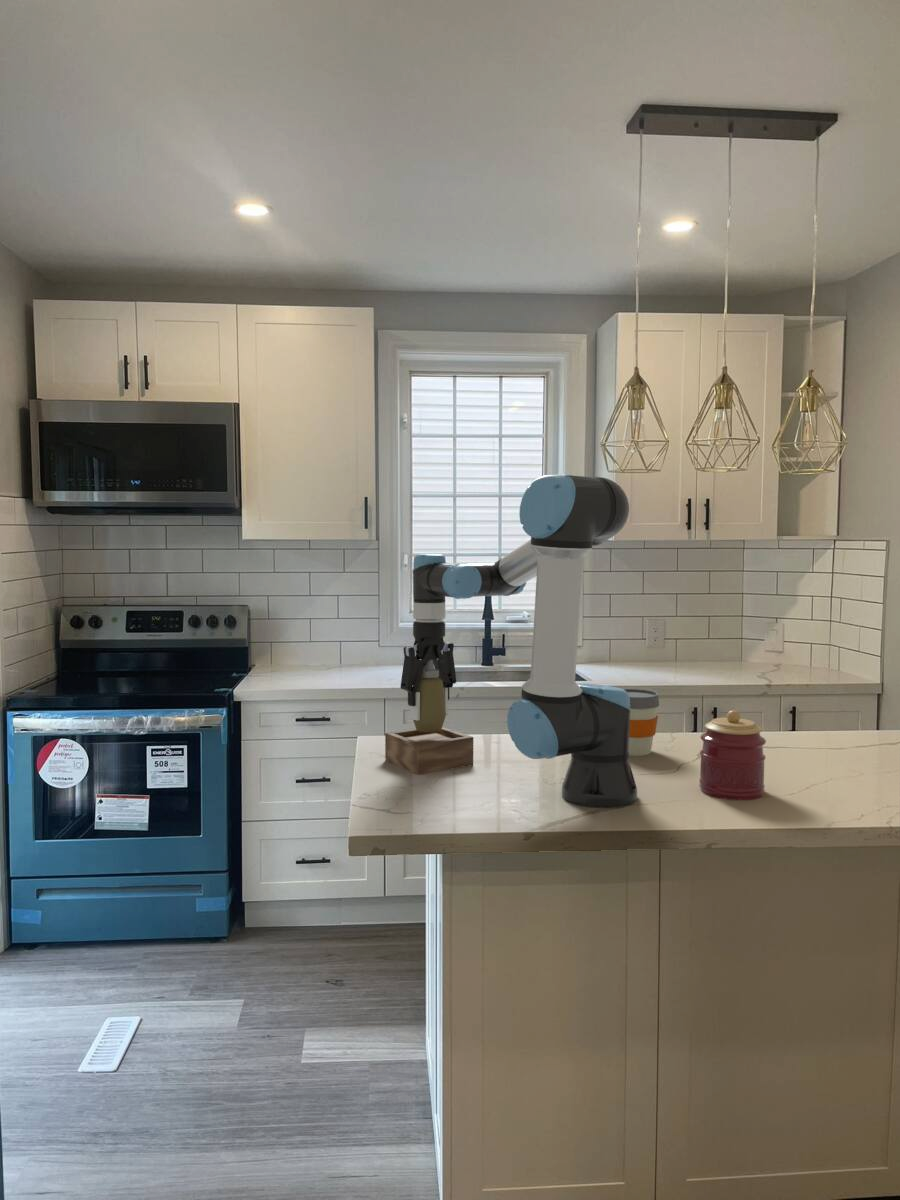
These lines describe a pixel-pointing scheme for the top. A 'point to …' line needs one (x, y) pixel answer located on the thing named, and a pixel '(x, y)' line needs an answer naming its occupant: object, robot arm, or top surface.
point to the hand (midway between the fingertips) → (428, 716)
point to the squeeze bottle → (431, 701)
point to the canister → (732, 759)
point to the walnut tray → (428, 750)
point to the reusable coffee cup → (642, 720)
